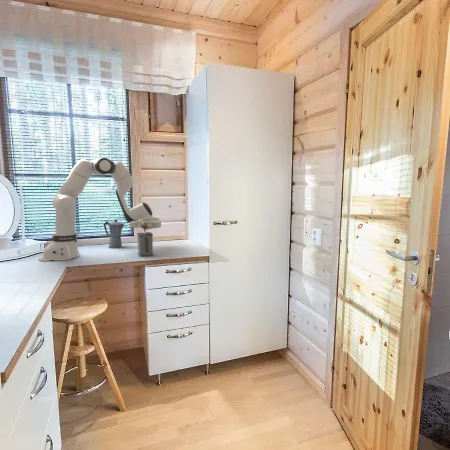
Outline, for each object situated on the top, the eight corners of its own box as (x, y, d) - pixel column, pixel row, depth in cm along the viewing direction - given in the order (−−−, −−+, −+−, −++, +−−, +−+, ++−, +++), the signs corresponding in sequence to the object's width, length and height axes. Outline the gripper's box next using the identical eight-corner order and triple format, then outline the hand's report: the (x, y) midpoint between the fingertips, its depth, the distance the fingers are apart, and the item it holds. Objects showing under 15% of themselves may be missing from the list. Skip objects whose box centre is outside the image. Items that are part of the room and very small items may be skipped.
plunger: (141, 253, 198) (140, 223, 195) (140, 251, 204) (139, 222, 201) (150, 252, 201) (150, 222, 198) (149, 251, 206) (148, 221, 203)
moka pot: (123, 248, 219) (122, 220, 216) (101, 248, 220) (100, 220, 217) (127, 245, 229) (126, 218, 226) (106, 245, 229) (105, 218, 226)
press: (140, 257, 195) (139, 235, 193) (137, 253, 204) (137, 233, 202) (154, 256, 198) (153, 234, 196) (150, 252, 208) (150, 232, 206)
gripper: (130, 218, 210) (127, 221, 197) (161, 218, 213) (160, 220, 200) (131, 227, 211) (127, 231, 198) (161, 227, 214) (160, 230, 201)
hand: (144, 225), depth 199 cm, fingers closed on plunger, 3 cm apart
